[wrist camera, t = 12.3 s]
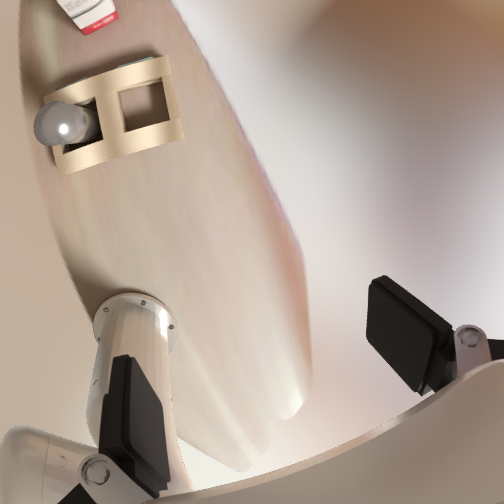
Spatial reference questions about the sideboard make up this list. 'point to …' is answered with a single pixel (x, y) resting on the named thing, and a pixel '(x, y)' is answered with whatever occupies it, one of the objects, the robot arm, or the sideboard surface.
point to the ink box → (90, 13)
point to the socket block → (117, 113)
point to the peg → (65, 124)
